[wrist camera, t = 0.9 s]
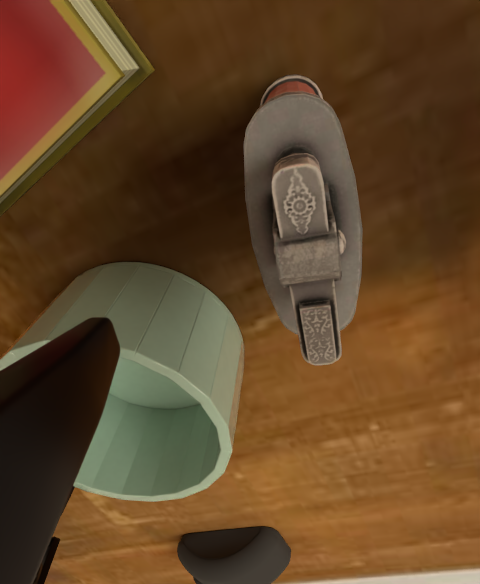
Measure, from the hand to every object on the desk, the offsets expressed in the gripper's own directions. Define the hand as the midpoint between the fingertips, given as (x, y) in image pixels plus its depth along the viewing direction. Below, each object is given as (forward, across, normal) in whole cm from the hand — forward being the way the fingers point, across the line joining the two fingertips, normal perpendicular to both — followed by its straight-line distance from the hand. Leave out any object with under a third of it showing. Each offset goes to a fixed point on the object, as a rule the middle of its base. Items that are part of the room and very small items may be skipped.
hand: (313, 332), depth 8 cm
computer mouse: (+12, +7, +39) cm, 41 cm away
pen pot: (+12, +10, +11) cm, 19 cm away
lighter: (+12, 0, 0) cm, 12 cm away
